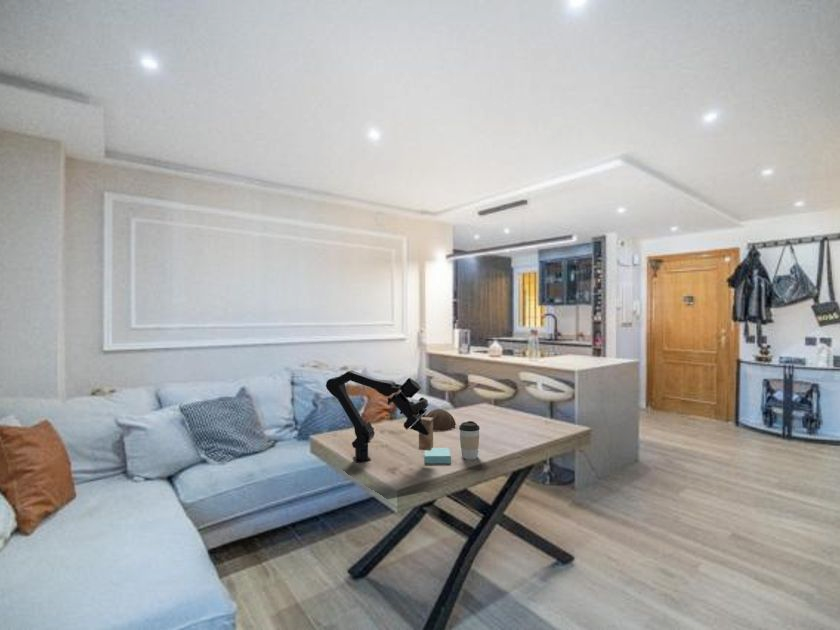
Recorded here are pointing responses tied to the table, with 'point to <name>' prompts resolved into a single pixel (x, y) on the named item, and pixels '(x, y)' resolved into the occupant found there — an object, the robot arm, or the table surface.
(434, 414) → the decorative dome
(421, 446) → the block
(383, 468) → the table surface
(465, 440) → the coffee cup
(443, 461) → the base
